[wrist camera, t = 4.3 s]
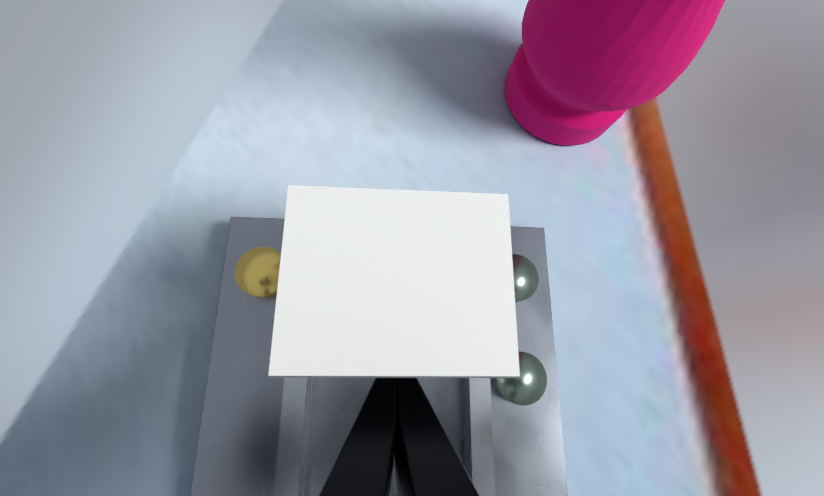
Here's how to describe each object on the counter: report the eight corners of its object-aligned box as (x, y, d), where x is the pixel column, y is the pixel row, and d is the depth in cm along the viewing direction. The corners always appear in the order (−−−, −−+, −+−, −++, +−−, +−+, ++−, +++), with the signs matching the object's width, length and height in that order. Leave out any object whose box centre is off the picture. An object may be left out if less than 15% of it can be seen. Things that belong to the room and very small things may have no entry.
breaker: (452, 361, 15) (522, 378, 7) (324, 360, 14) (265, 378, 7) (450, 262, 16) (510, 192, 8) (331, 258, 15) (286, 182, 8)
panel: (580, 784, 13) (620, 874, 10) (157, 821, 12) (106, 929, 9) (535, 234, 18) (555, 219, 16) (239, 224, 17) (218, 206, 15)
